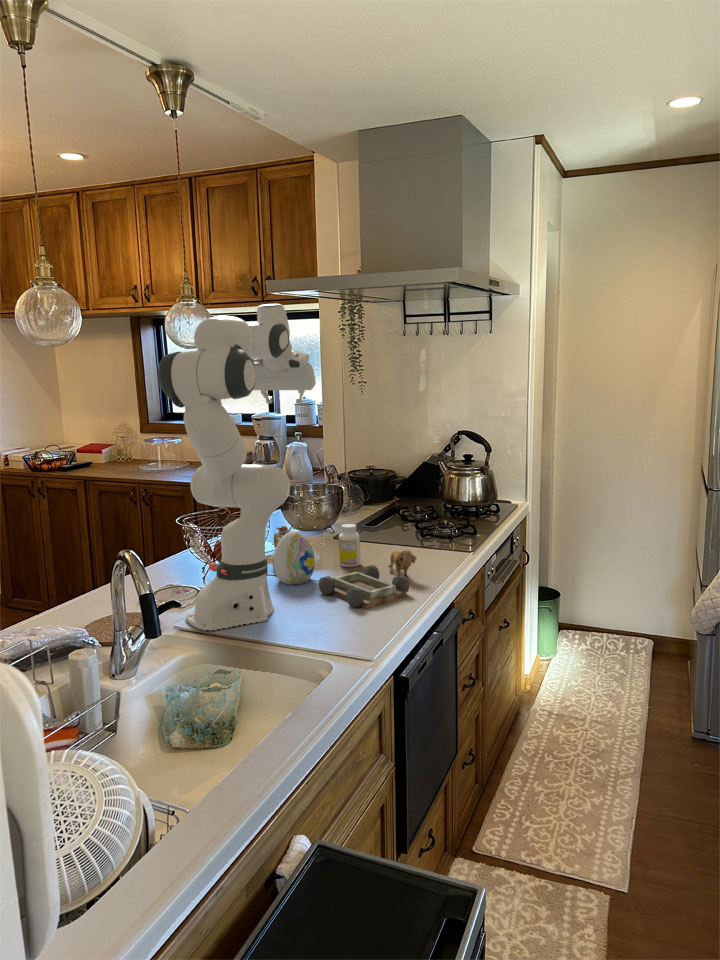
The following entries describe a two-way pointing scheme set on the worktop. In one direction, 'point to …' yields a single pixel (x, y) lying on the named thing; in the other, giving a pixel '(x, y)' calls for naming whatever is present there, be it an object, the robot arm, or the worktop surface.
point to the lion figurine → (402, 561)
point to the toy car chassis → (364, 588)
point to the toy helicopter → (279, 535)
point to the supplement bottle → (349, 546)
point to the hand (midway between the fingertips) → (284, 402)
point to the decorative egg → (294, 559)
